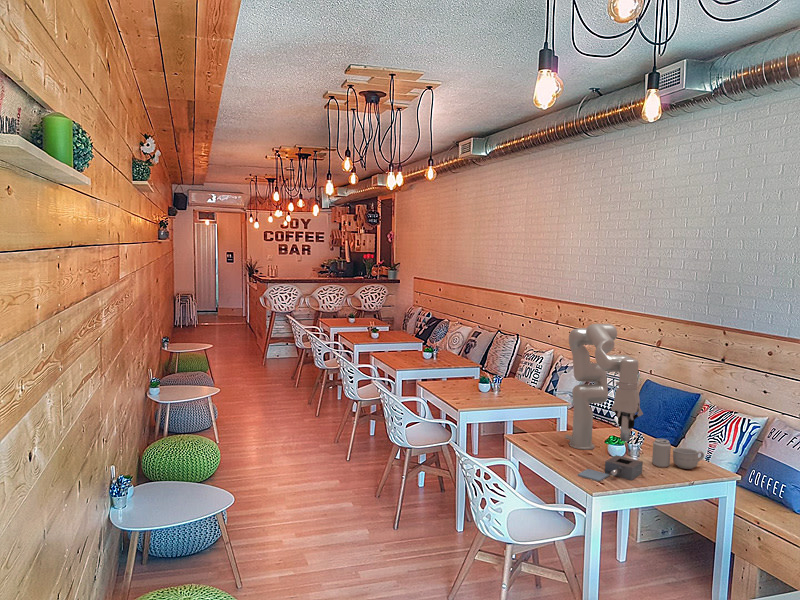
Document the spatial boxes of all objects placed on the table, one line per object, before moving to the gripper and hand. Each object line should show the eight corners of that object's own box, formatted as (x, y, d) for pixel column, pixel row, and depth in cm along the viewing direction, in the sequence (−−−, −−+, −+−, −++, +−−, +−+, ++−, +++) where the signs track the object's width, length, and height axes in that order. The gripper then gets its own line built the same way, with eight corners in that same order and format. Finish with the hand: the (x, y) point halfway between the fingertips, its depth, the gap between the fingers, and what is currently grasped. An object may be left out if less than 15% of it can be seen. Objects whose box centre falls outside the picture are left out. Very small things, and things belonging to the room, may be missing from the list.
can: (671, 468, 277) (672, 443, 276) (653, 467, 278) (655, 441, 278) (667, 463, 284) (668, 438, 283) (650, 462, 286) (651, 437, 285)
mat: (577, 475, 264) (577, 474, 264) (587, 470, 271) (587, 468, 271) (599, 482, 257) (599, 480, 257) (609, 476, 265) (609, 474, 265)
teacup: (676, 470, 275) (677, 452, 275) (668, 462, 286) (669, 445, 286) (708, 472, 274) (709, 455, 273) (699, 464, 284) (701, 447, 284)
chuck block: (598, 476, 264) (599, 464, 263) (615, 466, 277) (616, 455, 277) (626, 484, 256) (626, 471, 255) (641, 473, 269) (642, 461, 269)
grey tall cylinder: (618, 439, 268) (620, 408, 267) (622, 437, 271) (624, 407, 270) (627, 441, 265) (629, 410, 264) (631, 439, 268) (632, 408, 267)
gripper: (606, 384, 269) (603, 425, 270) (644, 390, 258) (641, 433, 259) (612, 382, 274) (610, 421, 276) (650, 388, 263) (648, 429, 265)
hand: (625, 426), depth 267 cm, fingers closed on grey tall cylinder, 4 cm apart
